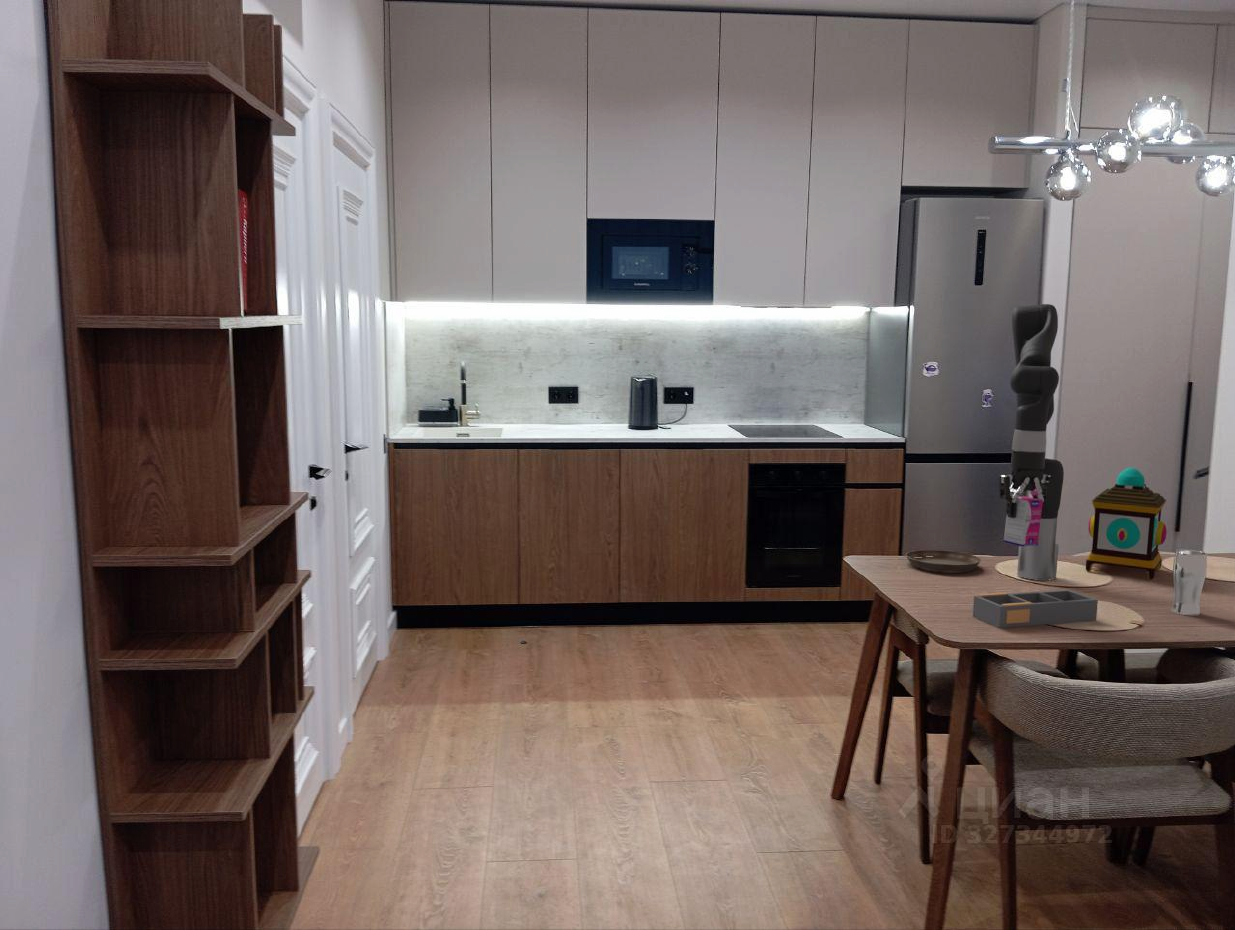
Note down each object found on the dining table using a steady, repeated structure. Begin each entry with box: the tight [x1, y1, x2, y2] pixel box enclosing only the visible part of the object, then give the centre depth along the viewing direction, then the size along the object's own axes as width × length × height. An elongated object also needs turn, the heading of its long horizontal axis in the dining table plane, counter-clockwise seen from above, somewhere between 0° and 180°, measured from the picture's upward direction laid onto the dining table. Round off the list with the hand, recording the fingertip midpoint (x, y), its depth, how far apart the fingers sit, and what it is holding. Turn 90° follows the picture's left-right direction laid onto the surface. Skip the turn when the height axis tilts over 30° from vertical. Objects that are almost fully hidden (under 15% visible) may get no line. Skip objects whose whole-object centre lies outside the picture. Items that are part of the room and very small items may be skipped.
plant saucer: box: [905, 549, 982, 574], centre depth 283 cm, size 21×21×3 cm
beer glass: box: [1171, 548, 1208, 617], centre depth 237 cm, size 7×7×15 cm
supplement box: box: [1003, 495, 1043, 547], centre depth 238 cm, size 6×6×12 cm
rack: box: [972, 589, 1099, 629], centre depth 230 cm, size 27×10×5 cm, turn 106°
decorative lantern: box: [1085, 467, 1168, 581], centre depth 280 cm, size 20×20×30 cm
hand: (1023, 517), depth 238 cm, fingers closed on supplement box, 6 cm apart
